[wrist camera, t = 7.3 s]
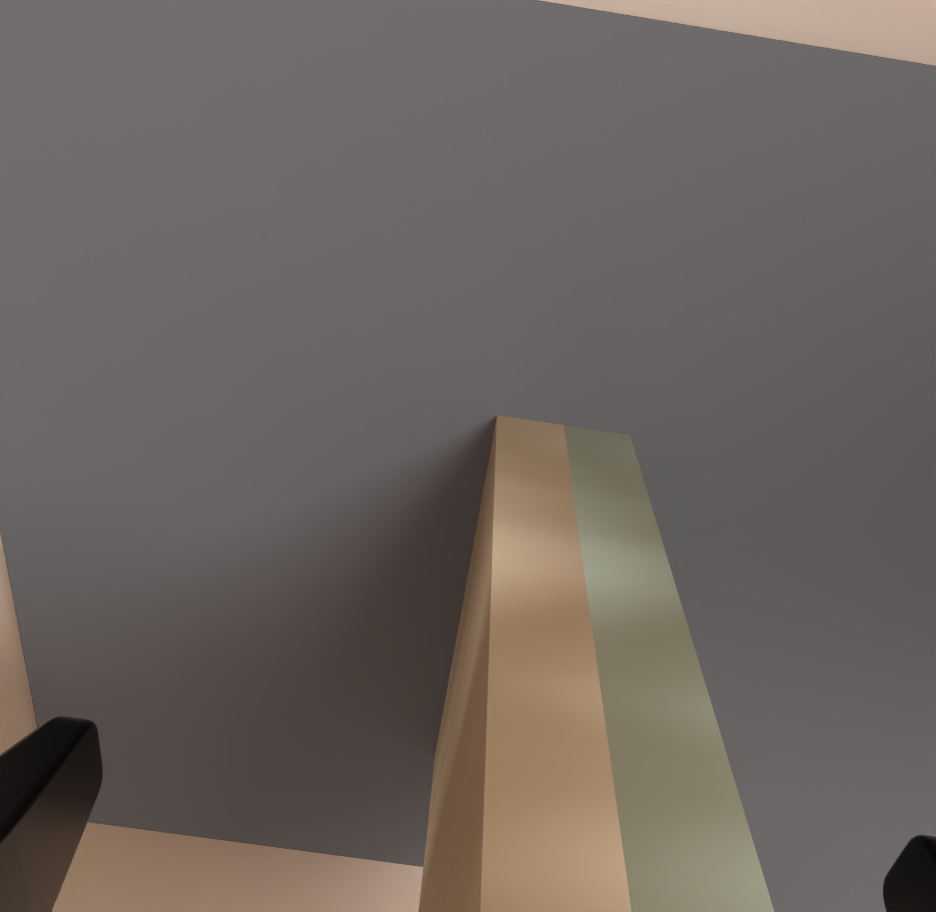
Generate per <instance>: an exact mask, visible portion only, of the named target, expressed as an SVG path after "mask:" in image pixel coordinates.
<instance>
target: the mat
mask: <svg viewBox="0 0 936 912" xmlns="http://www.w3.org/2000/svg"><path fill="white" fill-rule="evenodd" d="M497 415H500V416H506V417H513V418H519V419H526V420H533V421H539V422H546V423H552V424H559V425H565V426H572V427H579V428H585V429H592V430H598V431H605V432H612V433H618V434H625V435H630V436H631V440H632V443H633V446H634V450H635V453H636V456H637V459H638V463H639V466H640V469H641V473H642V476H643V479H644V483H645V486H646V489H647V492H648V496H649V499H650V502H651V506H652V509H653V512H654V516H655V519H656V522H657V526H658V529H659V532H660V535H661V539H662V542H663V545H664V549H665V552H666V555H667V559H668V562H669V565H670V568H671V572H672V575H673V578H674V582H675V585H676V588H677V592H678V595H679V598H680V602H681V605H682V608H683V611H684V615H685V618H686V621H687V625H688V628H689V631H690V635H691V638H692V641H693V644H694V648H695V651H696V654H697V658H698V661H699V664H700V668H701V671H702V674H703V677H704V681H705V684H706V687H707V691H708V694H709V697H710V701H711V704H712V707H713V711H714V714H715V717H716V720H717V724H718V727H719V730H720V734H721V737H722V740H723V744H724V747H725V750H726V753H727V757H728V760H729V763H730V767H731V770H732V773H733V777H734V780H735V783H736V786H737V790H738V793H739V796H740V800H741V803H742V806H743V810H744V813H745V816H746V820H747V823H748V826H749V829H750V833H751V836H752V839H753V843H754V846H755V849H756V853H757V856H758V859H759V862H760V866H761V869H762V872H763V876H764V879H765V882H766V886H767V889H768V892H769V896H770V899H771V902H772V905H773V909H774V912H886V909H885V905H884V900H883V883H884V879H885V876H886V874H887V873H888V871H889V870H890V868H891V867H892V865H893V864H894V862H895V861H896V859H897V858H898V856H899V855H900V853H901V852H902V851H903V849H904V848H905V846H906V845H907V843H908V842H909V841H910V839H911V838H913V837H915V836H917V835H927V836H934V837H936V66H932V65H926V64H920V63H914V62H908V61H902V60H896V59H890V58H884V57H878V56H872V55H866V54H860V53H854V52H848V51H842V50H836V49H829V48H823V47H817V46H811V45H805V44H799V43H793V42H787V41H781V40H775V39H769V38H763V37H757V36H751V35H745V34H739V33H733V32H727V31H720V30H714V29H708V28H702V27H696V26H690V25H684V24H678V23H672V22H666V21H660V20H654V19H648V18H642V17H636V16H630V15H624V14H618V13H612V12H605V11H599V10H593V9H587V8H581V7H575V6H569V5H563V4H557V3H551V2H545V1H539V0H0V532H1V537H2V542H3V548H4V553H5V558H6V563H7V569H8V574H9V579H10V585H11V590H12V595H13V600H14V606H15V611H16V616H17V622H18V627H19V632H20V637H21V643H22V648H23V653H24V658H25V664H26V669H27V674H28V680H29V685H30V690H31V695H32V701H33V706H34V711H35V717H36V722H37V727H40V726H41V725H42V724H44V723H45V722H47V721H48V720H50V719H52V718H54V717H58V716H66V717H73V718H81V719H88V720H91V721H93V722H94V723H95V724H96V726H97V729H98V735H99V742H100V750H101V757H102V765H103V779H102V784H101V788H100V791H99V794H98V797H97V799H96V802H95V804H94V807H93V809H92V812H91V814H90V817H89V819H88V822H92V823H99V824H107V825H114V826H122V827H129V828H137V829H144V830H152V831H159V832H167V833H174V834H182V835H189V836H197V837H204V838H212V839H219V840H226V841H234V842H241V843H249V844H256V845H264V846H271V847H279V848H286V849H294V850H301V851H309V852H316V853H324V854H331V855H339V856H346V857H354V858H361V859H369V860H376V861H384V862H391V863H398V864H406V865H413V866H421V867H423V866H424V857H425V847H426V837H427V828H428V818H429V808H430V799H431V789H432V780H433V770H434V760H435V754H436V748H437V743H438V737H439V732H440V726H441V720H442V715H443V709H444V704H445V698H446V693H447V687H448V682H449V676H450V671H451V665H452V660H453V654H454V649H455V643H456V638H457V632H458V627H459V621H460V616H461V610H462V605H463V599H464V594H465V588H466V583H467V577H468V572H469V566H470V561H471V555H472V550H473V544H474V539H475V533H476V528H477V522H478V517H479V511H480V506H481V500H482V495H483V489H484V484H485V478H486V473H487V467H488V462H489V456H490V451H491V445H492V440H493V434H494V429H495V423H496V418H497Z"/></svg>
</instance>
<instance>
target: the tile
mask: <svg viewBox="0 0 936 912" xmlns="http://www.w3.org/2000/svg"><path fill="white" fill-rule="evenodd" d="M419 912H774V909H773V905H772V902H771V899H770V896H769V892H768V889H767V886H766V882H765V879H764V876H763V872H762V869H761V866H760V862H759V859H758V856H757V853H756V849H755V846H754V843H753V839H752V836H751V833H750V829H749V826H748V823H747V820H746V816H745V813H744V810H743V806H742V803H741V800H740V796H739V793H738V790H737V786H736V783H735V780H734V777H733V773H732V770H731V767H730V763H729V760H728V757H727V753H726V750H725V747H724V744H723V740H722V737H721V734H720V730H719V727H718V724H717V720H716V717H715V714H714V711H713V707H712V704H711V701H710V697H709V694H708V691H707V687H706V684H705V681H704V677H703V674H702V671H701V668H700V664H699V661H698V658H697V654H696V651H695V648H694V644H693V641H692V638H691V635H690V631H689V628H688V625H687V621H686V618H685V615H684V611H683V608H682V605H681V602H680V598H679V595H678V592H677V588H676V585H675V582H674V578H673V575H672V572H671V568H670V565H669V562H668V559H667V555H666V552H665V549H664V545H663V542H662V539H661V535H660V532H659V529H658V526H657V522H656V519H655V516H654V512H653V509H652V506H651V502H650V499H649V496H648V492H647V489H646V486H645V483H644V479H643V476H642V473H641V469H640V466H639V463H638V459H637V456H636V453H635V450H634V446H633V443H632V440H631V436H630V435H625V434H618V433H612V432H605V431H598V430H592V429H585V428H579V427H572V426H565V425H559V424H552V423H546V422H539V421H533V420H526V419H519V418H513V417H506V416H500V415H497V418H496V423H495V429H494V434H493V440H492V445H491V451H490V456H489V462H488V467H487V473H486V478H485V484H484V489H483V495H482V500H481V506H480V511H479V517H478V522H477V528H476V533H475V539H474V544H473V550H472V555H471V561H470V566H469V572H468V577H467V583H466V588H465V594H464V599H463V605H462V610H461V616H460V621H459V627H458V632H457V638H456V643H455V649H454V654H453V660H452V665H451V671H450V676H449V682H448V687H447V693H446V698H445V704H444V709H443V715H442V720H441V726H440V732H439V737H438V743H437V748H436V754H435V760H434V770H433V780H432V789H431V799H430V808H429V818H428V828H427V837H426V847H425V857H424V866H423V876H422V886H421V895H420V905H419Z"/></svg>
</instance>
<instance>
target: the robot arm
mask: <svg viewBox="0 0 936 912" xmlns="http://www.w3.org/2000/svg"><path fill="white" fill-rule="evenodd" d="M102 779H103V765H102V757H101V750H100V742H99V735H98V729H97V726H96V724H95V723H94V722H93V721H91V720H88V719H81V718H73V717H66V716H58V717H54V718H52V719H50V720H48V721H47V722H45V723H44V724H42V725H41V726H40V727H38V728H37V729H35V730H34V731H33V732H31V733H30V734H29V735H27V736H26V737H24V738H23V739H22V740H20V741H19V742H17V743H16V744H15V745H13V746H12V747H11V748H9V749H8V750H6V751H5V752H4V753H2V754H1V755H0V912H52V909H53V907H54V904H55V902H56V899H57V897H58V894H59V892H60V889H61V887H62V884H63V882H64V879H65V877H66V874H67V872H68V869H69V867H70V864H71V862H72V859H73V857H74V854H75V852H76V849H77V847H78V844H79V842H80V839H81V837H82V834H83V832H84V829H85V827H86V824H87V822H88V819H89V817H90V814H91V812H92V809H93V807H94V804H95V802H96V799H97V797H98V794H99V791H100V788H101V784H102ZM883 900H884V905H885V909H886V912H936V837H934V836H927V835H917V836H915V837H913V838H911V839H910V841H909V842H908V843H907V845H906V846H905V848H904V849H903V851H902V852H901V853H900V855H899V856H898V858H897V859H896V861H895V862H894V864H893V865H892V867H891V868H890V870H889V871H888V873H887V874H886V876H885V879H884V883H883Z"/></svg>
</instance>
